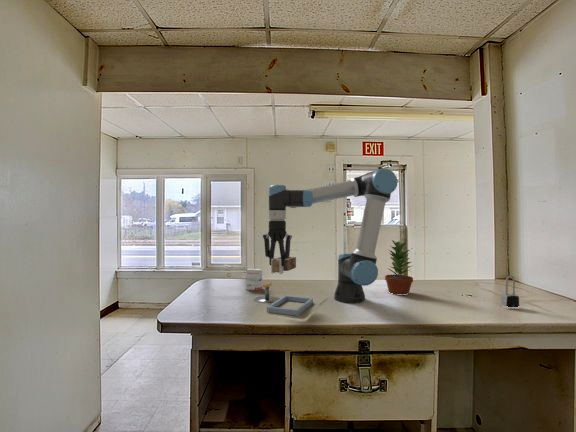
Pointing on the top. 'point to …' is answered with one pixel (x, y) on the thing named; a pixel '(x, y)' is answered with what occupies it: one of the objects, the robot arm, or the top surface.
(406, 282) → the potted plant
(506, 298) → the padlock
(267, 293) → the lid
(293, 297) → the tray
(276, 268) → the brown wooden forked piece
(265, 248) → the robot arm
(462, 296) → the top surface
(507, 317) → the top surface
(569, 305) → the top surface
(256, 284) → the ink box
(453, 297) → the top surface
